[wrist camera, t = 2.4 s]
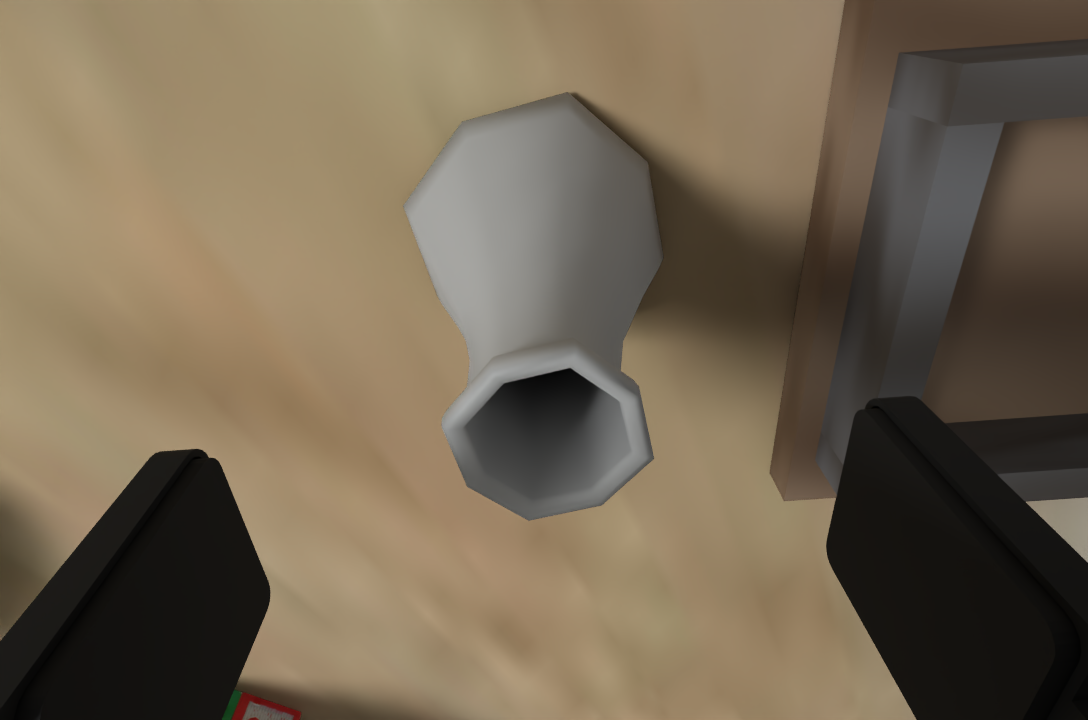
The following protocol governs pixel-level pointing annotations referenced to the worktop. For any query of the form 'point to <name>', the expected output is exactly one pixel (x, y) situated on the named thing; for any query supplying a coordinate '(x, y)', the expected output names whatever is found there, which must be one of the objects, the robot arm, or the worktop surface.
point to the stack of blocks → (257, 709)
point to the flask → (541, 300)
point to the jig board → (949, 241)
